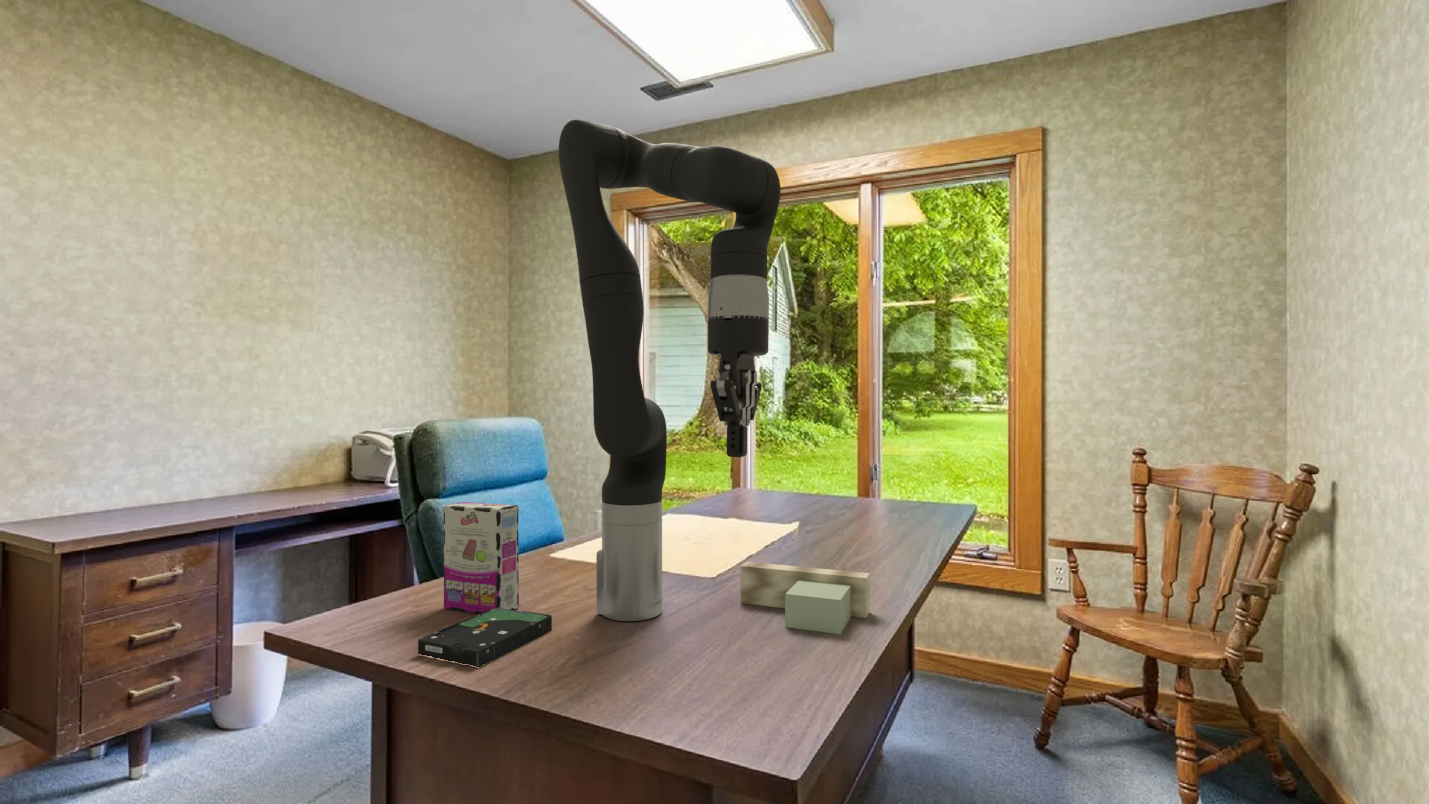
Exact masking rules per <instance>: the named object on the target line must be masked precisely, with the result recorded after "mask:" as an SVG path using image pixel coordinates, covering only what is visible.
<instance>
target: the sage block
mask: <svg viewBox="0 0 1429 804" xmlns="http://www.w3.org/2000/svg"><path fill="white" fill-rule="evenodd" d="M784 614H785V615H784V619H785V620H784V624H785V625H784V627H785V628H791V629H798V630H806V631H811V632H821V633H830V634H836V635H841V634H842V633H843V630H845V628H846V626H847V624H848V622H849V620H850V619H851V618H852V616H851V585H845V584H835V583H825V582H816V581H806V580H799V581H798V582H797V583H796V584H795V585H794V586H793V587H792V588H791V589H790V590H789V591H788V592H787V593H786V594H785V608H784Z"/></svg>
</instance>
